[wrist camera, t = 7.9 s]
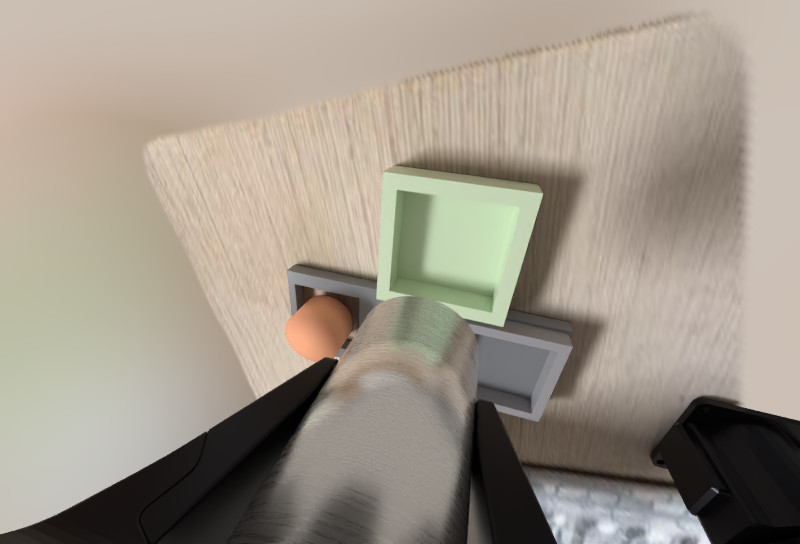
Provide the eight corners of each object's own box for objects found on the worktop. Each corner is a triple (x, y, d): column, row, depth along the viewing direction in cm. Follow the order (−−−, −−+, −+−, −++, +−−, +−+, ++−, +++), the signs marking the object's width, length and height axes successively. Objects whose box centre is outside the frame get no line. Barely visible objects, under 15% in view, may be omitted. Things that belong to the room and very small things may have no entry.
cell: (491, 311, 9) (485, 727, 3) (466, 403, 11) (431, 771, 5) (362, 284, 10) (145, 569, 4) (360, 375, 12) (215, 660, 6)
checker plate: (569, 322, 19) (577, 345, 17) (536, 398, 22) (540, 425, 21) (294, 264, 23) (276, 278, 21) (301, 337, 26) (286, 355, 24)
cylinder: (353, 301, 22) (337, 322, 20) (352, 345, 24) (338, 368, 22) (302, 290, 23) (282, 309, 20) (305, 333, 24) (287, 354, 22)
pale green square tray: (537, 184, 16) (543, 193, 14) (502, 306, 20) (503, 326, 18) (394, 165, 18) (382, 171, 16) (386, 282, 21) (376, 298, 20)
